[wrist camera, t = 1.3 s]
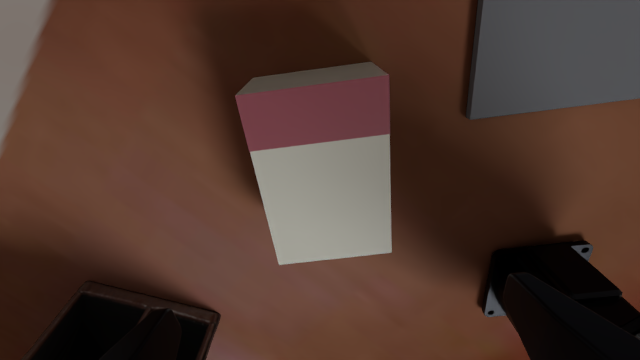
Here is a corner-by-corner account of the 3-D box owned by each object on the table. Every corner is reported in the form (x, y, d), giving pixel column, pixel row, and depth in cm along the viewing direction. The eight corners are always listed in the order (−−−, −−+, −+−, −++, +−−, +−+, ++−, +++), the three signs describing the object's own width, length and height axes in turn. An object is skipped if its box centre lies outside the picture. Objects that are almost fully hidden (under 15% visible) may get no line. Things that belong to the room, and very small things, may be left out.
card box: (377, 209, 19) (392, 252, 16) (284, 220, 20) (278, 265, 16) (371, 61, 15) (389, 74, 12) (252, 77, 15) (234, 95, 12)
